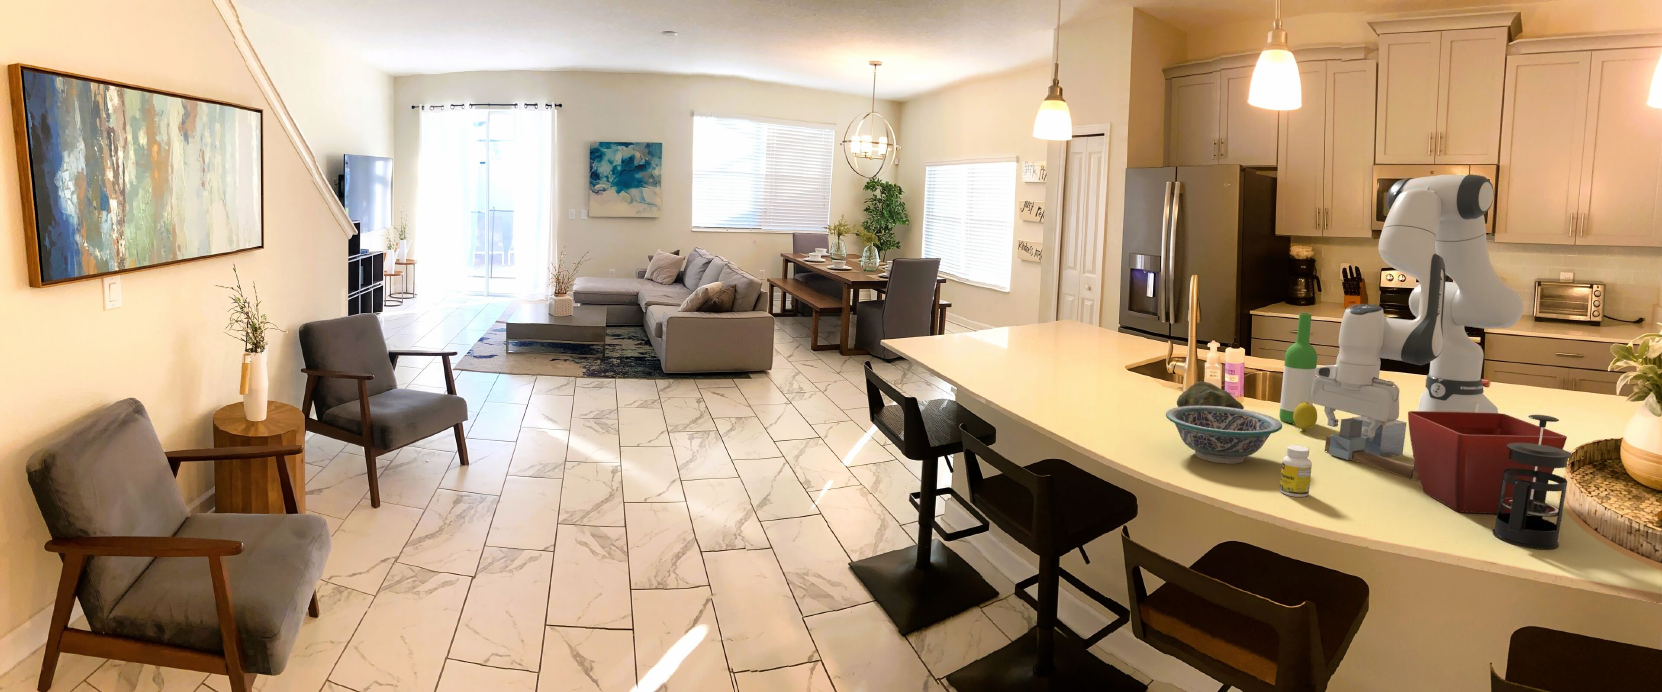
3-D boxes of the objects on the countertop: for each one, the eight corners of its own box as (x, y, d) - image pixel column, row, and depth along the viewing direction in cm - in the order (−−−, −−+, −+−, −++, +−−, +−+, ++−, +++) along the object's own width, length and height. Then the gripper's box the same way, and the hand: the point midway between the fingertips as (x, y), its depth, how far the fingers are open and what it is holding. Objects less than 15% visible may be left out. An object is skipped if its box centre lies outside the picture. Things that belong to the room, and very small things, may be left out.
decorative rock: (1216, 408, 250) (1219, 375, 248) (1249, 422, 235) (1252, 387, 233) (1168, 410, 248) (1171, 376, 246) (1198, 424, 233) (1201, 388, 231)
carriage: (1347, 451, 207) (1351, 416, 206) (1367, 457, 203) (1371, 421, 201) (1328, 454, 205) (1332, 418, 203) (1347, 459, 200) (1351, 423, 199)
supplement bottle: (1273, 489, 181) (1278, 444, 179) (1298, 488, 181) (1302, 444, 180) (1289, 498, 176) (1294, 452, 174) (1314, 497, 176) (1319, 451, 174)
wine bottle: (1293, 426, 231) (1304, 316, 226) (1272, 418, 239) (1282, 312, 233) (1317, 424, 233) (1329, 315, 228) (1295, 417, 240) (1306, 311, 235)
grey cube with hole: (1371, 445, 213) (1375, 414, 212) (1402, 454, 206) (1406, 422, 204) (1347, 449, 210) (1351, 417, 209) (1378, 458, 203) (1382, 425, 201)
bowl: (1269, 448, 211) (1273, 410, 209) (1286, 479, 188) (1291, 436, 186) (1161, 438, 219) (1164, 401, 217) (1164, 466, 196) (1167, 426, 194)
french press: (1505, 525, 162) (1523, 406, 158) (1568, 541, 154) (1588, 417, 150) (1480, 538, 155) (1497, 415, 151) (1544, 556, 148) (1564, 427, 144)
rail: (1333, 450, 209) (1335, 434, 208) (1426, 478, 188) (1429, 461, 187) (1324, 451, 208) (1326, 435, 207) (1417, 480, 187) (1419, 462, 186)
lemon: (1318, 434, 223) (1322, 404, 222) (1295, 433, 224) (1298, 403, 223) (1311, 428, 228) (1314, 399, 227) (1289, 427, 230) (1292, 398, 228)
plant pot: (1396, 485, 184) (1405, 409, 181) (1491, 489, 182) (1502, 412, 179) (1450, 518, 165) (1461, 434, 162) (1557, 523, 163) (1570, 437, 160)
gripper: (1409, 382, 192) (1402, 441, 194) (1328, 365, 211) (1322, 419, 213) (1390, 384, 190) (1382, 444, 192) (1309, 366, 209) (1303, 421, 211)
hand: (1350, 431), depth 203 cm, fingers open, 8 cm apart
